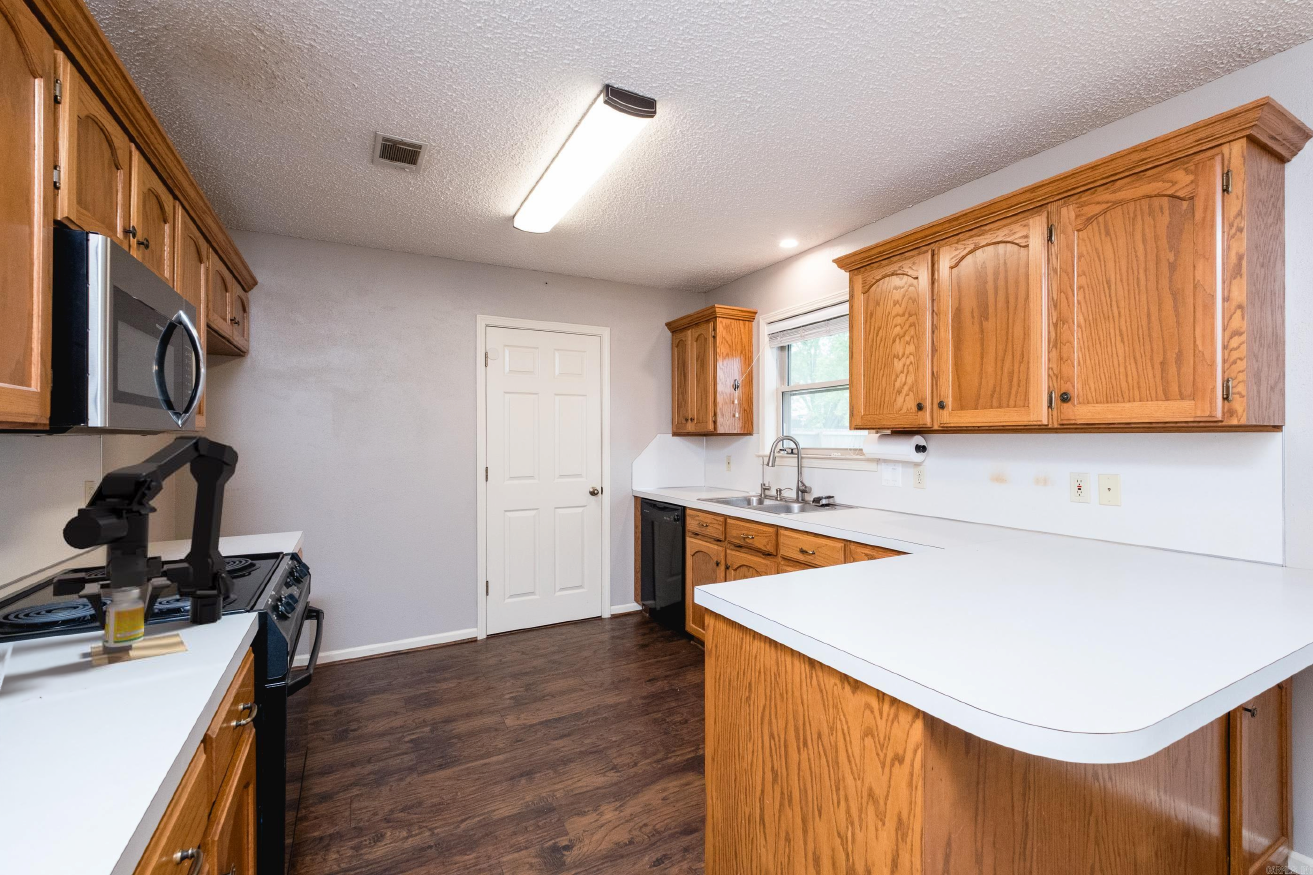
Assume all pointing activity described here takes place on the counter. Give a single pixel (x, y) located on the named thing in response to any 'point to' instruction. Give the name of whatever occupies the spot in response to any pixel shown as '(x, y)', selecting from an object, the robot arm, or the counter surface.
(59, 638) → the counter surface
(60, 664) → the counter surface
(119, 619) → the supplement bottle
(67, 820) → the counter surface
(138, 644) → the plywood panel
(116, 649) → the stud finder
